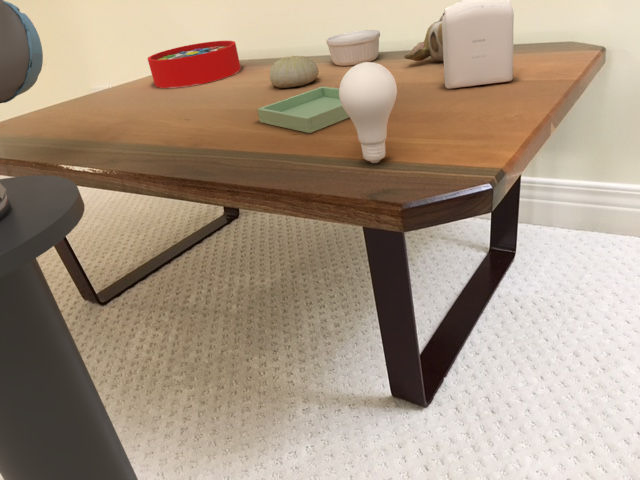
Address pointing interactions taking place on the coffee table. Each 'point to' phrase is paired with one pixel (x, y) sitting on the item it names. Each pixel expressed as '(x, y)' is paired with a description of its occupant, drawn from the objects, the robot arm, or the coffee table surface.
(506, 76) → the photo printer
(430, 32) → the ceramic sculpture
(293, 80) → the sea urchin shell
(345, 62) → the ramekin
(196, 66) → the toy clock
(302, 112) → the tray
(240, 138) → the coffee table surface
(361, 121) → the lightbulb
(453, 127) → the coffee table surface
